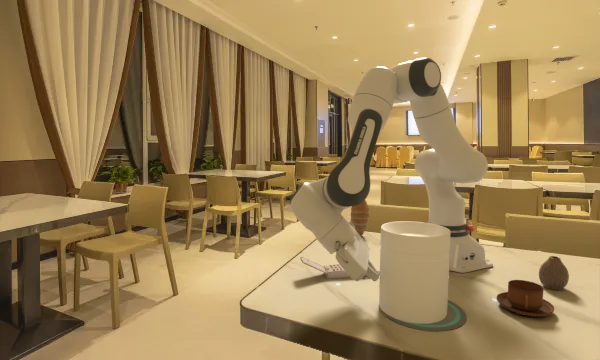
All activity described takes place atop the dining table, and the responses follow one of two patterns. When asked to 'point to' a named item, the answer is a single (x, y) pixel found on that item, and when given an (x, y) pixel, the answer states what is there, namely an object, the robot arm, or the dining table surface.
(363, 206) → the brown ribbed oblong piece
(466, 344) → the dining table surface
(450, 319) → the charging mat
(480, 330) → the dining table surface
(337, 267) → the mobile phone
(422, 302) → the canister
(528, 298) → the cup and saucer
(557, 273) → the vase
